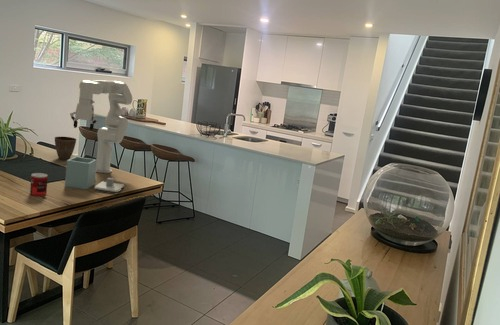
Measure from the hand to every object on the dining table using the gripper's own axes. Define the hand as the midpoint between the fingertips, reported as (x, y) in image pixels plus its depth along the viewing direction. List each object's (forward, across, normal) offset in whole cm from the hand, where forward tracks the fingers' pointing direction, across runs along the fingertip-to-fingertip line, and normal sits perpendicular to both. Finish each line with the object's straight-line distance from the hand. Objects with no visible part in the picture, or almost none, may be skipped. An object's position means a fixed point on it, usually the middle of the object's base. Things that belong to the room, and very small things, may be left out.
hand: (83, 128), depth 241 cm
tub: (+33, -5, +11) cm, 35 cm away
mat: (+33, -23, +11) cm, 42 cm away
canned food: (+34, +7, +38) cm, 51 cm away
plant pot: (+34, +30, -48) cm, 66 cm away
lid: (+32, -23, +11) cm, 41 cm away
